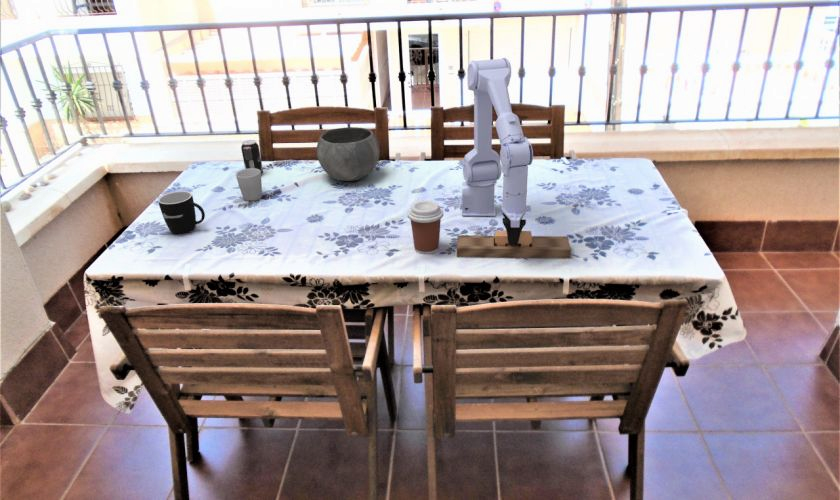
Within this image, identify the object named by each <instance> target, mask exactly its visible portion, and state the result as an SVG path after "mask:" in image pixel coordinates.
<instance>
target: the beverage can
mask: <svg viewBox="0 0 840 500" xmlns="http://www.w3.org/2000/svg"><path fill="white" fill-rule="evenodd" d="M241 144H242V145H241V147H240V148H241V153H242V159H243V165H244V169H249V168H255V169H259V170H260V171H261V175H263V173H264V169H263V164H262V158H261V151H260V146H259V144H258V142H257V140H255V139H248V140H247V139H246V140H244V141H242V143H241Z"/></svg>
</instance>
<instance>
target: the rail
mask: <svg viewBox="0 0 840 500" xmlns="http://www.w3.org/2000/svg"><path fill="white" fill-rule="evenodd" d="M571 252H572V249H571V245H570V240H569V237H568V236H561V235H560V236H551V235H549V236H546V235H532V244H529V247H520V244H519V243H518V244H517V245H510V244H509V243H505V246H497V243H495V235H463V234H462V235H461V234H460V235H457V242H456V258H496V259H497V258H501V259H502V258H505V259H510V258H511V259H514V258H515V259H566V258H570V259H571Z"/></svg>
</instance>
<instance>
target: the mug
mask: <svg viewBox="0 0 840 500" xmlns="http://www.w3.org/2000/svg"><path fill="white" fill-rule="evenodd" d="M158 206H159V208H160V211H161V214H162V217H163V220H164V222H165V224H166V227H167V228H168V230H169V231H170V233H172V234H173V235H176V234H182V235H187V234H189V232H190V233H191V231H192V232H193V231H194V230H195V228H196V226H197V225H199V224H202V222H203V221H204V220H205V218H206V213H205V209H204V208H203V207H202V206H201V205H200V204H199V203H196V202H194V196H193V194H192V192H189V191H186V190H185V191H184V190H180V191H179V190H177V191H171V192H168V193H165V194H163V195H162V196H160V197H158ZM196 208H197V209H198V210H199V211H200V213H201V218H200V220H197V216H196ZM186 233H187V234H186Z"/></svg>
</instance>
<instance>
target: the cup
mask: <svg viewBox="0 0 840 500" xmlns="http://www.w3.org/2000/svg"><path fill="white" fill-rule="evenodd" d="M235 177H236V180H237V183H238V186H239V190H240V193H241V195H242V199H243V200H244V201H247V202H250V201H249V200H253V201H252V202H255V200H256V201H258V200H260V199H261V198H262V197H263V191H262V187H263V186H262V184H263V182H262V174H261V171H260V170H259V169H255V168H249V169H245V168H244V169H240V170H239V171H237V172H236V173H235Z"/></svg>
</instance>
